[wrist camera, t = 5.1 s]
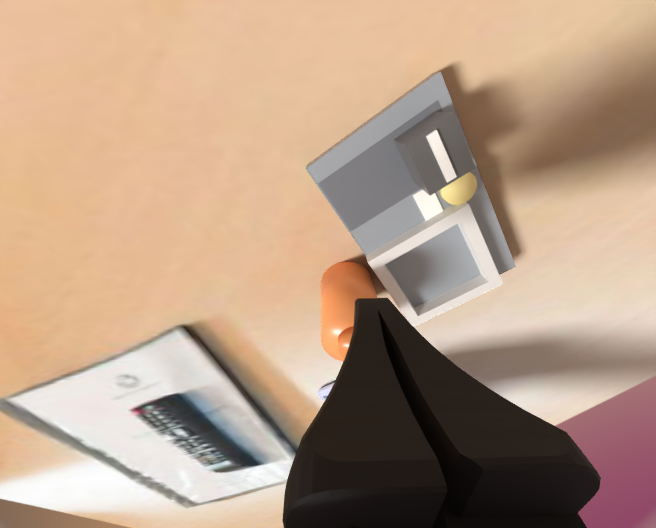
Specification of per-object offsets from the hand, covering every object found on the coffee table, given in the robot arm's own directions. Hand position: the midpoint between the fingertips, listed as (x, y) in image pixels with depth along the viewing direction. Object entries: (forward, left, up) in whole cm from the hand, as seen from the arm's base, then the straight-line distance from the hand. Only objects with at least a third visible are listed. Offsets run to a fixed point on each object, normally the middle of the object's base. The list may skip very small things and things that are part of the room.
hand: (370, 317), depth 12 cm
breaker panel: (-2, -4, -9) cm, 10 cm away
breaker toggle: (+2, -6, -8) cm, 10 cm away
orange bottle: (-4, +3, -9) cm, 10 cm away
